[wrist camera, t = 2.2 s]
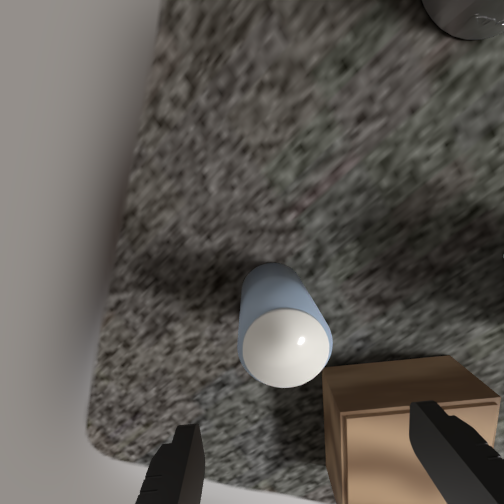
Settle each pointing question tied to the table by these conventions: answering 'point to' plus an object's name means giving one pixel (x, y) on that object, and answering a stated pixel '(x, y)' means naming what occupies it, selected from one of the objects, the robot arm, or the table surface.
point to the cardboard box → (394, 425)
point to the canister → (281, 328)
